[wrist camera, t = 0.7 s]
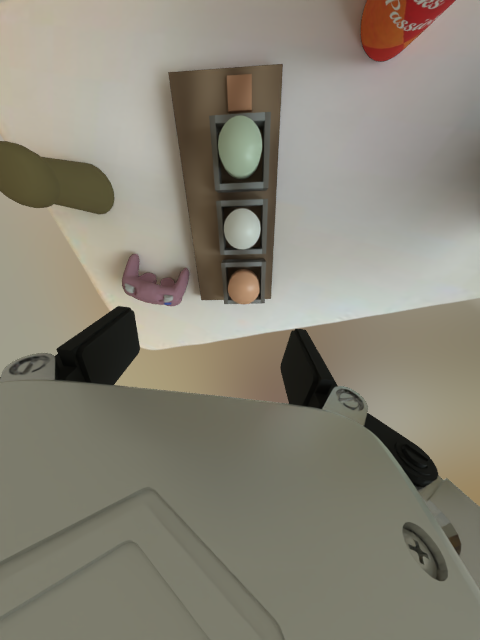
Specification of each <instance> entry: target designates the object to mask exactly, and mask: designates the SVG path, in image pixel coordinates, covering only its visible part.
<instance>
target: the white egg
mask: <svg viewBox="0 0 480 640" xmlns="http://www.w3.org/2000/svg"><path fill="white" fill-rule="evenodd" d="M260 231H261V227H260V222H259V219H258V218H257V216H256V215H255V214H254V213H253V212H252V211H250V210H248V209H243V208H241V209H237V210H234V211H233V212H231V213H230V214H229V215H228V217H227V218H226V220H225V224H224V234H225V238H226V240H227V241H228V243H229V244H230V245H231V246H233V247H234V248H237V249H248V248H250V247H252V246H253V245H254V244H255V243H256V242H257V240H258V238H259V236H260Z"/></svg>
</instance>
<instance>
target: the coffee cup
mask: <svg viewBox="0 0 480 640" xmlns="http://www.w3.org/2000/svg"><path fill="white" fill-rule="evenodd" d="M454 1H455V0H367V2H366V4H365V7H364V11H363V15H362V20H361V41H362V45H363V48H364V50H365V52H366V54H367V55H368V56H369V57H370V58H371V59H373V60H375V61H386V60H389V59H391V58H393V57H394V56H396V55H397V54H399V53H400V52H401V51H402V50H403V49H405V48H406V47H407V46H408V45H409V44H410V43H411V42H412V41H413V40H414V39H415V38H417V37H418V36H419V35H420V34H421V33H422V32H423V31H424V30H425V29H426V28H427V27H428V26H429V25H430V24H431V23H432V22H433V21H435V20H436V19H437V18H438V17H439V16H440V15H441V14H442V13H443V12H444V11H445V10H446V9H447V8H448V7H449V6H450V5H451V4H452V3H453V2H454Z"/></svg>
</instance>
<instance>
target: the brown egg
mask: <svg viewBox="0 0 480 640" xmlns="http://www.w3.org/2000/svg"><path fill="white" fill-rule="evenodd" d="M228 293H229V296H230V297H231V299H232V300H233V301H235V302H236V303H239V304H249V303H251V302H253V301H254V300H255V299H256V298H257V296H258V294H259V283H258V278H257V276H256V274H255V273H254V272H253V271H251V270H249V269H239V270H237V271H235V272H234V273H233V274H232V276H231V278H230V281H229V285H228Z"/></svg>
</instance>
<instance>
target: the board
mask: <svg viewBox="0 0 480 640" xmlns="http://www.w3.org/2000/svg"><path fill="white" fill-rule="evenodd" d="M282 69H283V64H276V65H262V66H249V67H235V68H222V69H208V70H195V71H181V72H168V73H169V80H170V87H171V94H172V101H173V108H174V115H175V121H176V128H177V135H178V142H179V149H180V156H181V163H182V170H183V177H184V184H185V190H186V197H187V204H188V211H189V218H190V225H191V232H192V239H193V246H194V252H195V259H196V266H197V273H198V280H199V287H200V294H201V300H224V304H239V303H236V302H235V301H233V300H232V299H231V297H230V296H229V293H228V285H229V281H230V278H231V276H232V274H233V273H234V272H235V271H237V270H239V269H249V270H251V271H253V272H254V273H255V274H256V276H257V278H258V283H259V294H258V296H257V298H256V299H255V300H254V301H253V302H251V303H265V299H271V285H272V265H273V246H274V226H275V206H276V187H277V167H278V147H279V128H280V108H281V88H282ZM235 116H246V117H248V118H250V119H251V120H252V121H254V123H255V124H256V125H257V127H258V129H259V131H260V134H261V138H262V152H261V156H260V161H259V164H258V167H257V169H256V171H255V172H254V173H253V174H252V175H251V176H250V177H248V178H246V179H235V178H233V177H232V176H230V175H229V174H228V172H227V171H226V170H225V168H224V165H223V163H222V161H221V158H220V155H219V150H218V140H219V135H220V132H221V129H222V128H223V126H224V124H225V123H226V122H227V121H228V120H229V119H231V118H232V117H235ZM241 208H243V209H248V210H250V211H252V212H253V213H254V214H255V215H256V216H257V218H258V219H259V222H260V227H261V231H260V236H259V238H258V240H257V242H256V243H255V244H254V245H253V246H252V247H250V248H248V249H237V248H234V247H233V246H231V245H230V244H229V243H228V241H227V240H226V238H225V234H224V224H225V220H226V218H227V217H228V215H229V214H230V213H231V212H233V211H234V210H237V209H241ZM249 304H250V303H249Z"/></svg>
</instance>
